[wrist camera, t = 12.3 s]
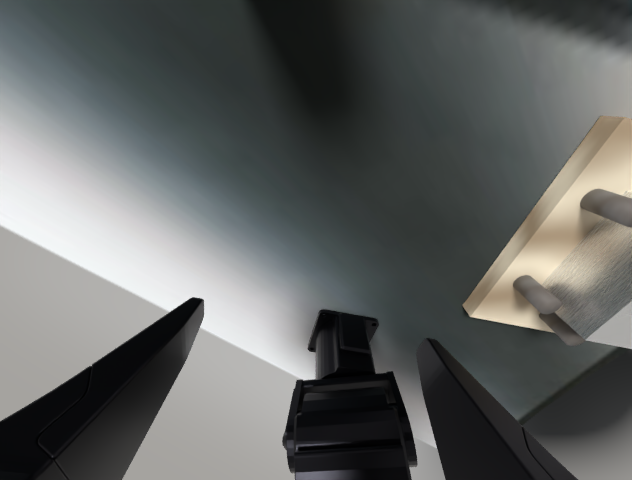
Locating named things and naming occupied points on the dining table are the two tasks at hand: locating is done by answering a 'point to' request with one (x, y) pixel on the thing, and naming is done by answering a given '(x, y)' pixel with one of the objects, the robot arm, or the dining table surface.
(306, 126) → the dining table surface
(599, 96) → the dining table surface
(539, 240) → the pin tray
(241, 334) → the dining table surface
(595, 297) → the block
